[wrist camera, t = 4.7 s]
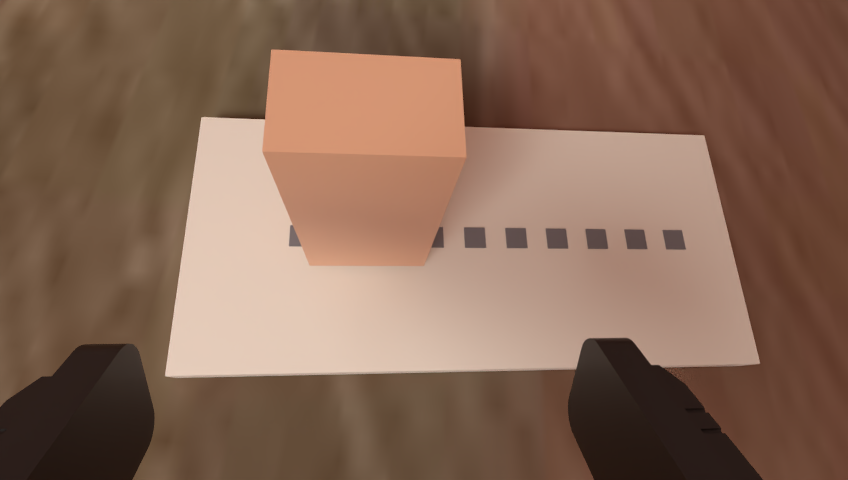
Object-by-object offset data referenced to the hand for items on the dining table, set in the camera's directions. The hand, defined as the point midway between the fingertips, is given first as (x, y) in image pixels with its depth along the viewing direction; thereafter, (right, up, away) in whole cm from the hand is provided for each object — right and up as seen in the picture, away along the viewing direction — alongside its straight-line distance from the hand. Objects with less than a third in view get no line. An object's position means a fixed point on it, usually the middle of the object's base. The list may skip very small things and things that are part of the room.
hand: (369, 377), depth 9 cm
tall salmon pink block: (-2, +3, +13) cm, 13 cm away
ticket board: (+3, +2, +15) cm, 15 cm away
